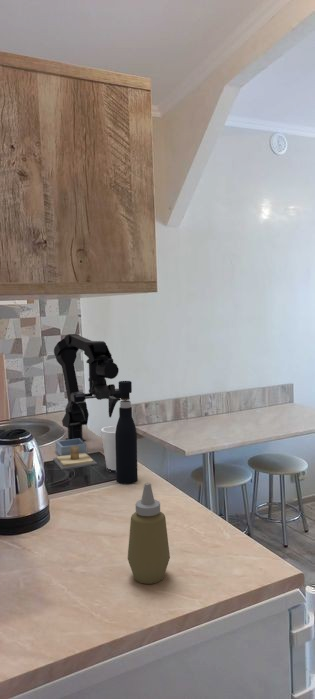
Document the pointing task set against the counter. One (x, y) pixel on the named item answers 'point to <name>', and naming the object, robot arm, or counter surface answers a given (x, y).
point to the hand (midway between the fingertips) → (98, 418)
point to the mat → (72, 466)
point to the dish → (65, 445)
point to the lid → (74, 458)
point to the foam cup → (109, 446)
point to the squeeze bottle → (148, 540)
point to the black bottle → (126, 439)
